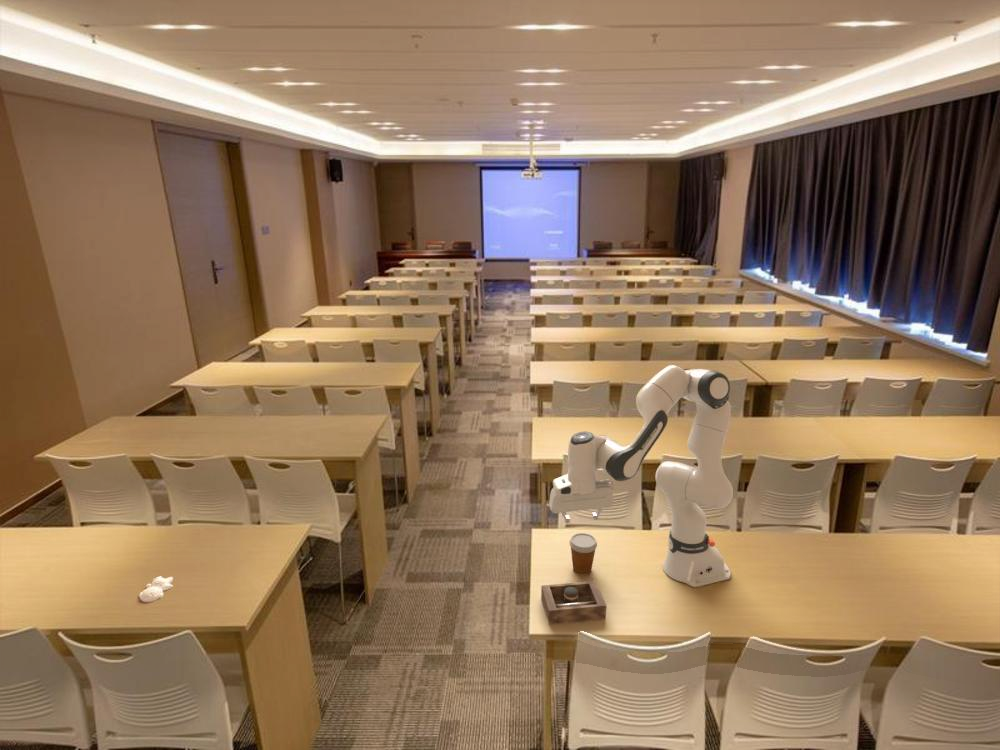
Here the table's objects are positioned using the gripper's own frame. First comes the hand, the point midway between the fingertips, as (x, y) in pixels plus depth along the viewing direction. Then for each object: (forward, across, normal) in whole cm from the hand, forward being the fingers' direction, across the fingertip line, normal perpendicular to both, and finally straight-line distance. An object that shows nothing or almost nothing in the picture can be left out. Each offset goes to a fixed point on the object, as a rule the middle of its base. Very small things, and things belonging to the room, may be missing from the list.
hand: (581, 520), depth 194 cm
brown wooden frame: (+26, +5, +10) cm, 28 cm away
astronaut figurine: (+23, +140, -20) cm, 143 cm away
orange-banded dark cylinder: (+26, +5, +8) cm, 27 cm away
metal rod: (+23, +5, +12) cm, 26 cm away
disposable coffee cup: (+26, -3, -9) cm, 28 cm away
